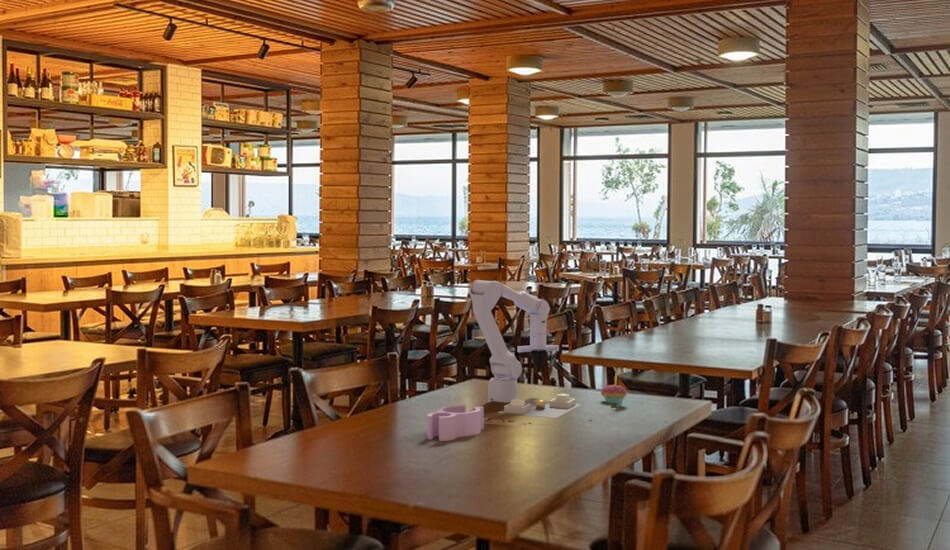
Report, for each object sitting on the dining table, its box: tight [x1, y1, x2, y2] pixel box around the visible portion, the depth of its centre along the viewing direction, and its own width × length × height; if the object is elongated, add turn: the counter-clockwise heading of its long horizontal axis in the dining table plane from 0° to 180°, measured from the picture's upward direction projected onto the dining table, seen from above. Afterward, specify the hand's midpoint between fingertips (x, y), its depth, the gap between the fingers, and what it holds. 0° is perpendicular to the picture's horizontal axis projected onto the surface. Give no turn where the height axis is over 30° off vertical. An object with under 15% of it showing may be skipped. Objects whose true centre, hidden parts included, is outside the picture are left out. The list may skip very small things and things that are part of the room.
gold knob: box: [535, 399, 546, 409], centre depth 321 cm, size 3×3×2 cm
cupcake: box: [600, 370, 627, 408], centre depth 332 cm, size 9×8×12 cm
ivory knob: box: [510, 398, 526, 407], centre depth 317 cm, size 4×4×4 cm
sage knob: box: [555, 393, 570, 402], centre depth 326 cm, size 4×4×4 cm
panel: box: [497, 397, 582, 419], centre depth 321 cm, size 20×24×4 cm
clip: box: [426, 404, 485, 442], centre depth 293 cm, size 20×12×7 cm, turn 146°
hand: (538, 372), depth 346 cm, fingers closed
